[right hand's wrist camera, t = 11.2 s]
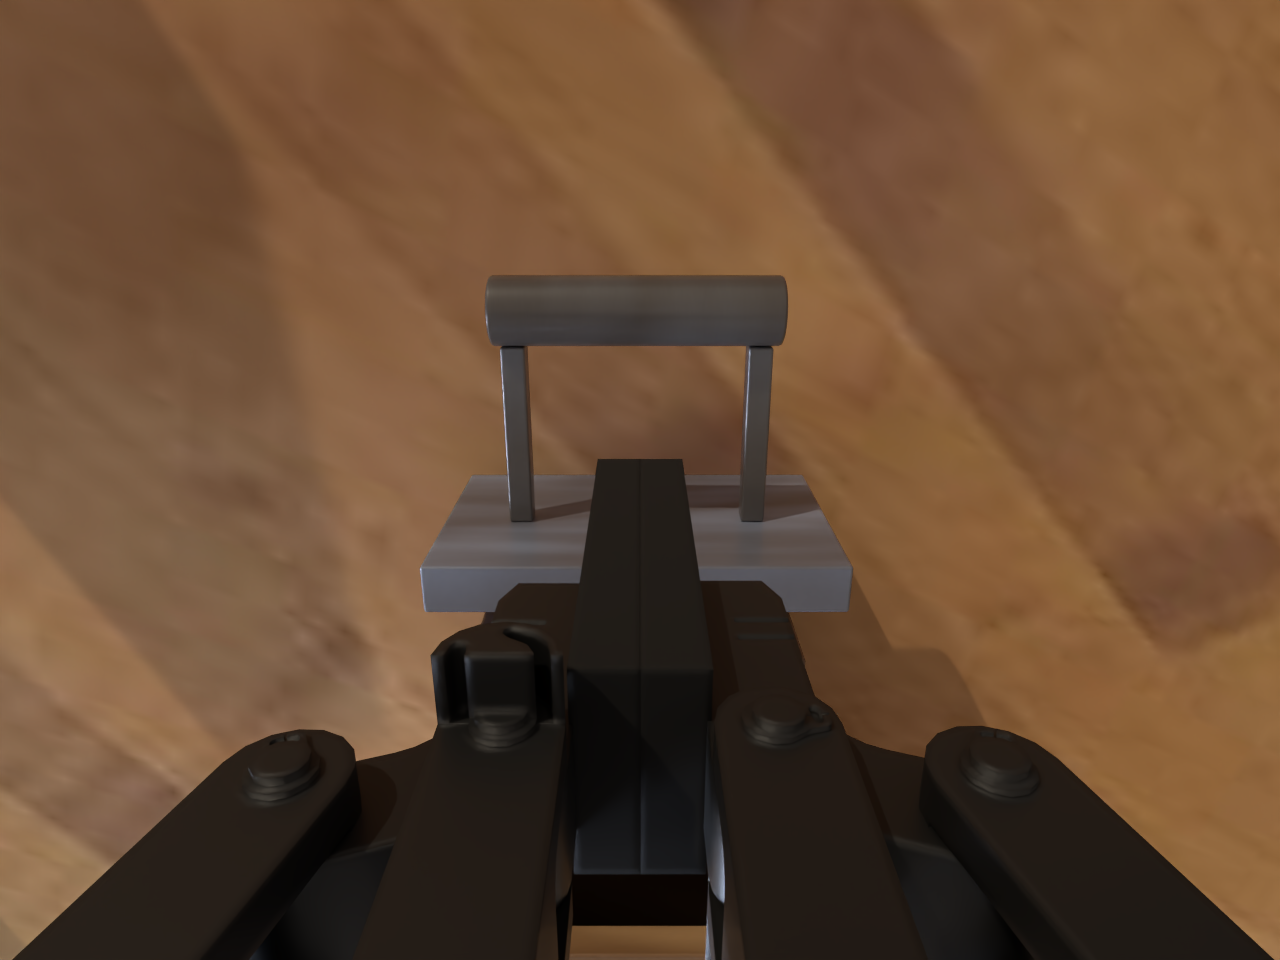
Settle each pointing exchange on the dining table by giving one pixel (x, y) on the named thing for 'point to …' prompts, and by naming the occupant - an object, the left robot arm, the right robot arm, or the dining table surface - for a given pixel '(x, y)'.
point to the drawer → (560, 504)
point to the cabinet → (638, 943)
